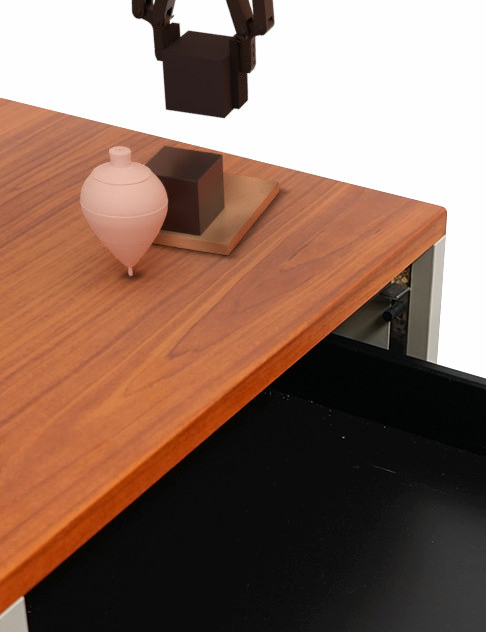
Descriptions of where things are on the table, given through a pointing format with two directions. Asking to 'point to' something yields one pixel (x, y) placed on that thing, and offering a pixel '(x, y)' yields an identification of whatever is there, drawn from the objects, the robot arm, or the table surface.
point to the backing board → (231, 219)
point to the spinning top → (124, 206)
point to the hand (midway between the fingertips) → (207, 99)
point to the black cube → (198, 74)
